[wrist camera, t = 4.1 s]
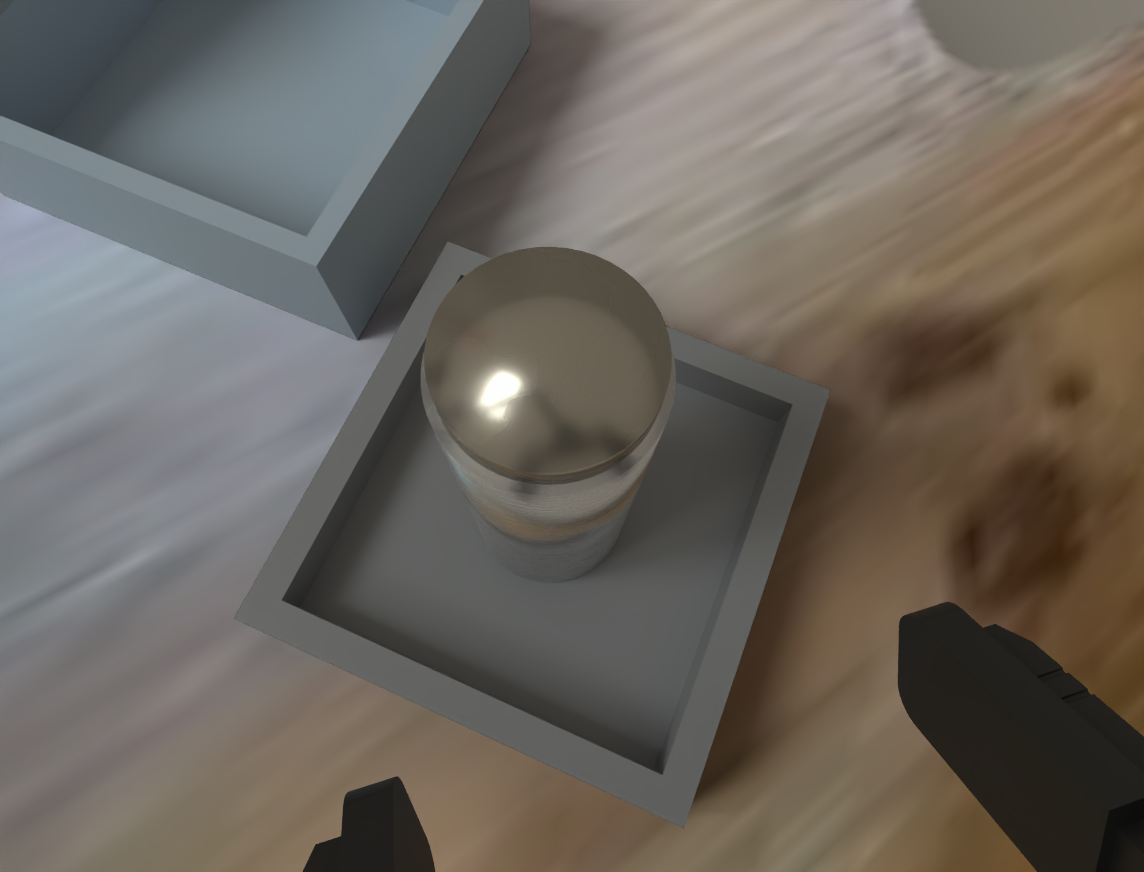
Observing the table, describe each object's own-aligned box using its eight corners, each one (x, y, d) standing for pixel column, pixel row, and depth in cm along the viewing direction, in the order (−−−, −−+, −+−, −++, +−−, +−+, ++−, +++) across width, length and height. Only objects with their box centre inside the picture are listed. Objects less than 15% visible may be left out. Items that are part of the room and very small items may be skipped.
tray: (669, 813, 22) (684, 828, 20) (265, 626, 24) (233, 618, 21) (806, 416, 27) (830, 389, 24) (456, 279, 28) (447, 241, 26)
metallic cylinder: (589, 606, 23) (623, 528, 12) (453, 547, 24) (363, 418, 13) (644, 474, 25) (720, 292, 14) (515, 420, 25) (484, 203, 14)
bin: (357, 340, 27) (315, 266, 22) (4, 195, 29) (-104, 98, 24) (530, 43, 32) (526, -68, 27) (219, -65, 34) (165, -189, 29)
